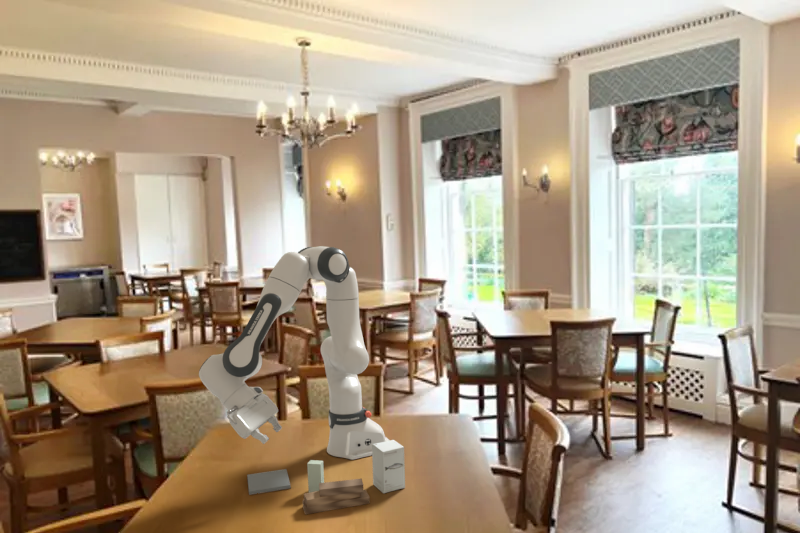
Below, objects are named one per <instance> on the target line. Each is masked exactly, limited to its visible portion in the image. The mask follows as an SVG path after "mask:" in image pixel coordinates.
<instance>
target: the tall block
mask: <svg viewBox="0 0 800 533" xmlns="http://www.w3.org/2000/svg"><path fill="white" fill-rule="evenodd" d="M306 466H307V486H308V488H307V489H308V490H307V491H308V493H310V492H315V491H319V483H325V475H324V474H325V473H324V471H325V470H324V467H325V466H324V460H317V459H316V460H315V459H310V460H309V461H308V462H307V465H306Z"/></svg>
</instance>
